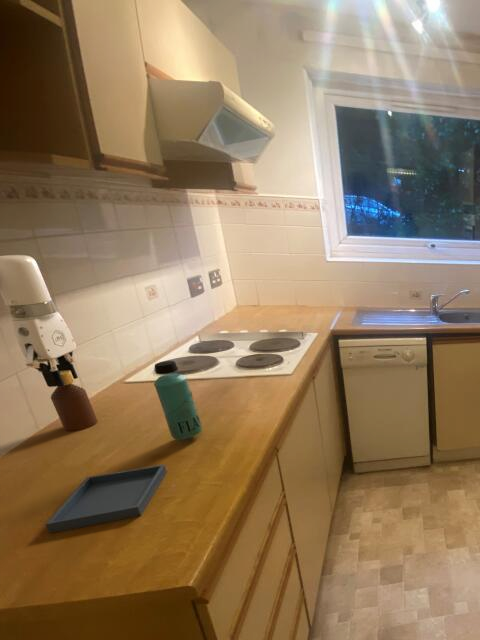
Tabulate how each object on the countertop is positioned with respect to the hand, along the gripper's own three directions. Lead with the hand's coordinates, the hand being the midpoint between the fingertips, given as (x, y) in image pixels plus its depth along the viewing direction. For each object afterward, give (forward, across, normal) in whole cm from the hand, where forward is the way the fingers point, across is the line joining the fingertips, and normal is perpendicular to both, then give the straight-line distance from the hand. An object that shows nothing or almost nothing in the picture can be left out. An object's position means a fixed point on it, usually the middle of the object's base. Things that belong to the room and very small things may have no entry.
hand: (63, 381), depth 108 cm
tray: (+12, -37, -27) cm, 48 cm away
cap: (-2, 0, 0) cm, 2 cm away
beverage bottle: (+13, -14, -30) cm, 36 cm away
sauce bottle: (+12, 0, 0) cm, 12 cm away
